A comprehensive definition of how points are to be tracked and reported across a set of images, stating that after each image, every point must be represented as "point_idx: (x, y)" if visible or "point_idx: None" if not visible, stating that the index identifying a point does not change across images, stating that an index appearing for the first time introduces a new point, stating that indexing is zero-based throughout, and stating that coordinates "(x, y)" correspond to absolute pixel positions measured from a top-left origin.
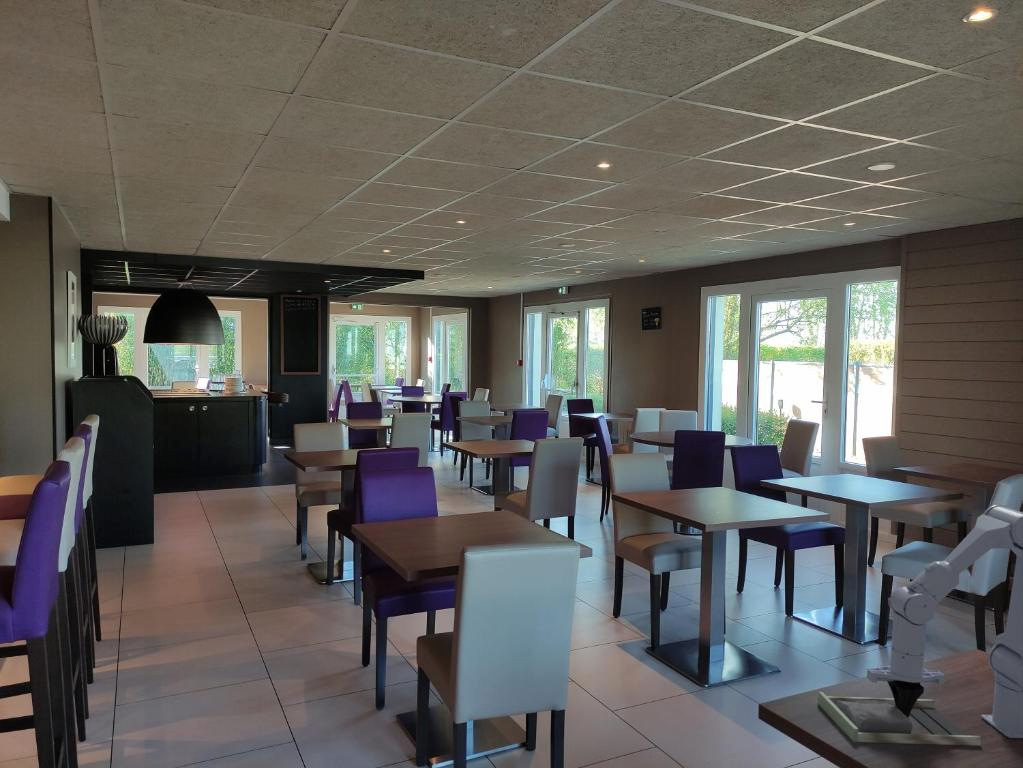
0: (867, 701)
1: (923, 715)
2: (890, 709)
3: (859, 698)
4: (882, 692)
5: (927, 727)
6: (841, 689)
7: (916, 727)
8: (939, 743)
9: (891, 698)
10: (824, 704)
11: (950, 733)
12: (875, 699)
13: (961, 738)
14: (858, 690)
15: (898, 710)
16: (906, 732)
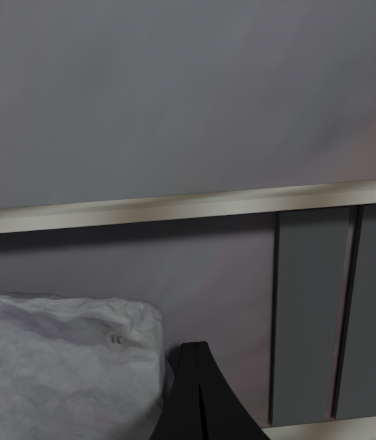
0: (46, 323)
1: (325, 277)
2: (117, 433)
3: (43, 228)
4: (270, 23)
5: (277, 361)
6: (13, 10)
7: (238, 352)
8: None
9: (236, 204)
10: None
11: (339, 379)
12: (138, 220)
13: None
14: (125, 11)
15: None
16: None
